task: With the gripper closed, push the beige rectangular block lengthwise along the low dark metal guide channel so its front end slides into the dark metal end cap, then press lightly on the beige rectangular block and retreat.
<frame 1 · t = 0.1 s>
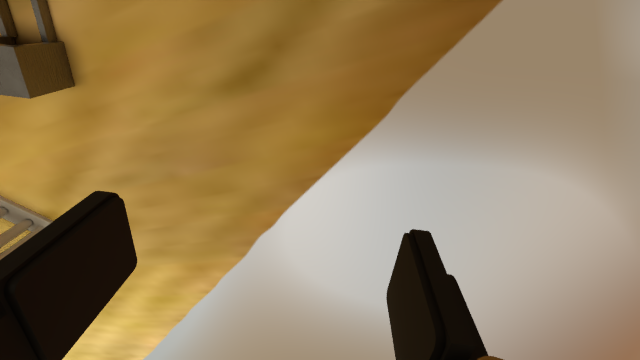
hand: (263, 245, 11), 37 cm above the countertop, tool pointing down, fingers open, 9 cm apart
end cap: (40, 57, 44), on the countertop
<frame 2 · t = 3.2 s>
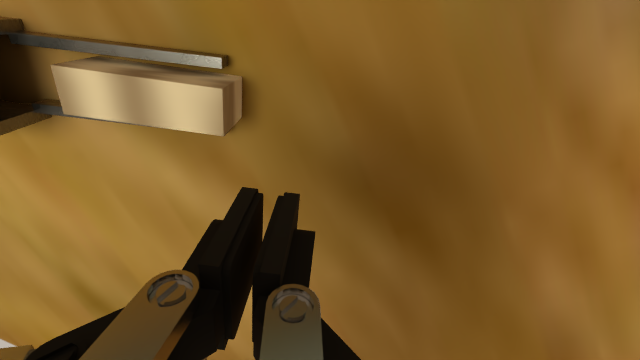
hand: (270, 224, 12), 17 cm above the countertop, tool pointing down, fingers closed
end cap: (8, 68, 27), on the countertop
beige rectangular block: (173, 87, 27), on the countertop
guide channel: (133, 83, 27), on the countertop
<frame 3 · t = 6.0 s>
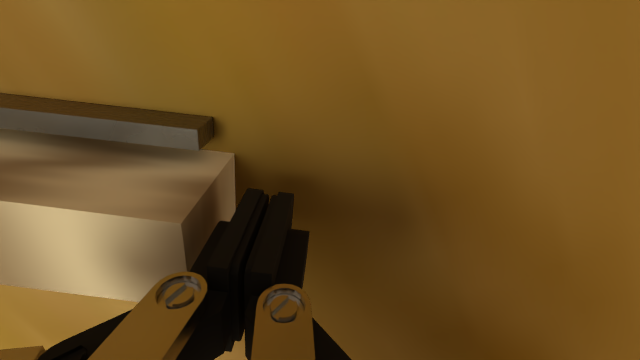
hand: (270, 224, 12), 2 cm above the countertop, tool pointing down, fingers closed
beige rectangular block: (102, 171, 14), on the countertop, touching gripper
guide channel: (32, 165, 14), on the countertop
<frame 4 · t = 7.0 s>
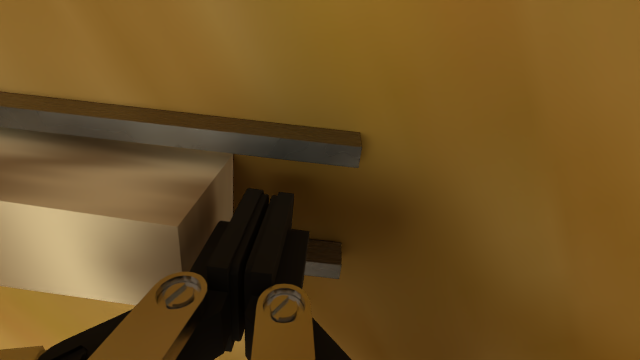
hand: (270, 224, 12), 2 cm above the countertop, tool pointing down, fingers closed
beige rectangular block: (97, 169, 14), on the countertop, touching gripper
guide channel: (161, 179, 14), on the countertop
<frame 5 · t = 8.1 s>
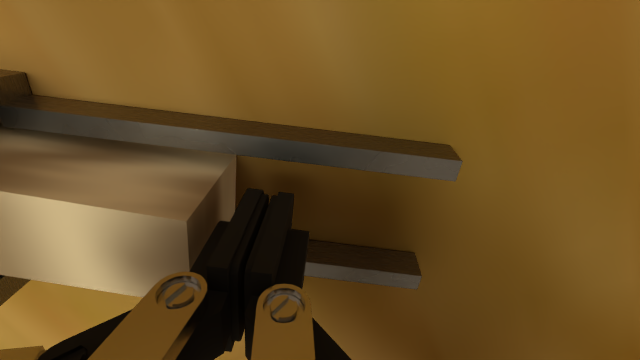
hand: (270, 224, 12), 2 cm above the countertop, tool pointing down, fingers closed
beige rectangular block: (104, 165, 14), on the countertop
guide channel: (241, 189, 14), on the countertop
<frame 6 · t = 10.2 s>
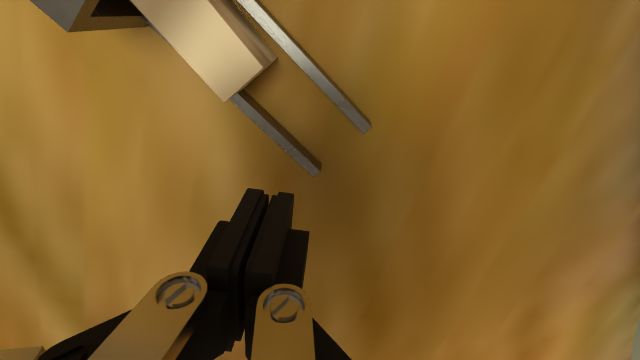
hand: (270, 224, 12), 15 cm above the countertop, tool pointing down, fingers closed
beige rectangular block: (202, 2, 22), on the countertop
guide channel: (267, 72, 24), on the countertop
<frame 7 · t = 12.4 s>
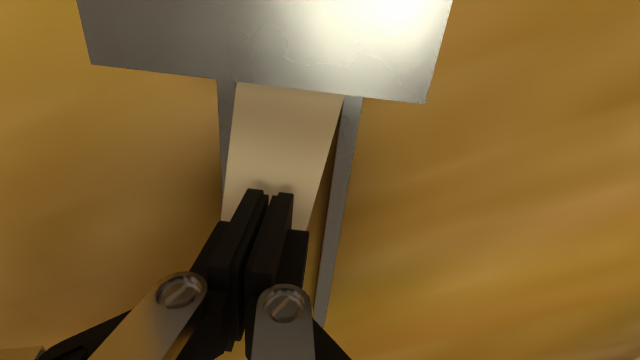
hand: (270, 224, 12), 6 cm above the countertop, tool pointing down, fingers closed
beige rectangular block: (299, 93, 15), on the countertop
guide channel: (286, 204, 18), on the countertop
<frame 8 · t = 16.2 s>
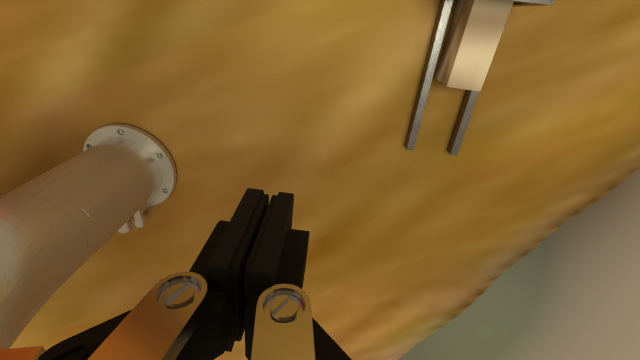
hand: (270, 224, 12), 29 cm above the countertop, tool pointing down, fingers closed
beige rectangular block: (467, 23, 34), on the countertop
guide channel: (447, 82, 37), on the countertop
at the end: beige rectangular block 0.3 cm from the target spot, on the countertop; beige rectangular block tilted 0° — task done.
